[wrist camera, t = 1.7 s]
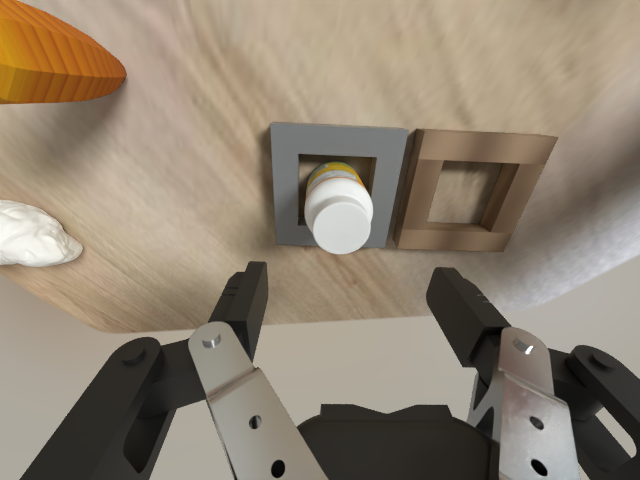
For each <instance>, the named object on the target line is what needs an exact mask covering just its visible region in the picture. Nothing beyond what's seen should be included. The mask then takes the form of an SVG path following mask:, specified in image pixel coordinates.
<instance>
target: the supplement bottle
mask: <svg viewBox="0 0 640 480" xmlns="http://www.w3.org/2000/svg"><path fill="white" fill-rule="evenodd" d="M372 216H373V204H372V201H371V198H370V196H369V194H368V192H367V190H366V188H365V187H364V185H363V183H362V181H361V180H360V178H359V176H358V174H357V173H356V172H355V170H354V169H353V168H352V167H350V166H349V165H347V164H345V163H342V162H337V161H332V162H327V163H324V164H322V165H320V166H319V167H317V168H316V169H315V170H314V171H313V172H312V174H311V176H310V178H309V180H308V184H307V192H306V201H305V220H306V223H307V226H308V228H309V229H310V231H311V232H312V233H313V236H314V239H315V241H316V242H317V244H318V245H319V246H320V247H321V248H322V249H324V250H325V251H327V252H330V253H333V254H348V253H351V252H354V251H356V250H357V249H359V248H360V247H361V246H362V245H363V244H364V243H365V242H366V240H367V239H368V237H369V234H370V229H371V224H370V223H371V220H372Z"/></svg>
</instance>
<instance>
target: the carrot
mask: <svg viewBox="0 0 640 480" xmlns="http://www.w3.org/2000/svg"><path fill="white" fill-rule="evenodd" d="M126 75H127V73H126V70H125V68H124V66H123V65H122V64H121V62H120V61H119V60H118V59H117V58H115V57H114V56H113V55H112V54H111V53H110V52H108V51H107V50H106V49H105V48H103V47H102V46H101V45H100V44H99V43H97V42H96V41H95V40H94V39H92V38H91V37H90V36H88V35H86V34H85V33H83V32H81V31H79V30H78V29H76V28H74V27H73V26H71V25H69V24H67V23H65V22H64V21H62V20H60V19H58V18H56V17H54V16H52V15H50V14H48V13H47V12H44V11H42V10H39V9H37V8H34V7H32V6H29V5H27V4H24V3H22V2H19V1H17V0H0V104H25V103H58V102H74V101H86V100H90V99H94V98H98V97H101V96H105V95H108V94H111V93H112V92H114V91H115V90H116V89H117V88H119V87H120V85H121V84H122V82H123V81H124V79H125V77H126Z"/></svg>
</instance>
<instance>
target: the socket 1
mask: <svg viewBox="0 0 640 480" xmlns="http://www.w3.org/2000/svg"><path fill="white" fill-rule="evenodd" d="M270 131H271V151H272V171H273V191H274V211H275V231H276V244H277V245H307V246H319V245H318V244H317V242H316V241H315V239H314V236H313V233H312V232H311V231H310V229H309V228H308V226H307V223H306V220H305V218H299V154H315V155H338V156H361V157H372V162H371V169H370V176H369V183H368V190H367V192H368V194H369V196H370V198H371V201H372V204H373V216H372V220H371V223H370V224H371V229H370V234H369V237H368V239H367V240H366V242H365V243H364V244H363V245H362V246H361V247H367V248H385V245H386V240H387V235H388V230H389V225H390V220H391V215H392V210H393V205H394V200H395V195H396V190H397V185H398V180H399V175H400V170H401V165H402V160H403V156H404V151H405V146H406V141H407V136H408V131H409V130H407V129H403V128H391V127H371V126H350V125H329V124H308V123H287V122H272V123H270Z"/></svg>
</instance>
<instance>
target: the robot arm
mask: <svg viewBox="0 0 640 480" xmlns="http://www.w3.org/2000/svg"><path fill="white" fill-rule="evenodd" d="M267 300H268V276H267V264H266V262H255V261H250V262H249V263H248V266H247V268H246V270H245V272H236V273H235V274H234V275H233V276H232V277H231V278H230V279H229V280H228V282H227V284H226V286H225V289H224V290H223V292H222V296H221V297H220V299H219V301H218V303H217V305H216V307H215V309H214V311H213V313H212V315H211V317H210V319H209V321H208V323H207V324H205V325H203V326H201V327H199V328H198V329H197V330H195V331H194V333H193V334H192V335H191V337H190V338H188V339H186V340H182V341H179V342H174V343H171V344H166V345H162V346H161V345H160V343H159V342H158V340H157V339H154V338H151V337H142V338H137V339H134V340H132V341H129V342H127V343H126V344H124V345H122V346H121V347H119V348H118V349H117V350H116V351H115V352H114V353H113V354H112V355H111V356H110V357H109V359H108V360H107V361H106V363H105V364H104V366H103V367H102V368H101V370H100V371H99V372H98V374H97V375H96V377H95V378H94V379H93V381H92V382H91V383H90V385H89V386H88V387H87V389H86V390H85V391H84V393H83V394H82V396H81V397H80V398H79V400H78V401H77V402H76V404H75V405H74V406H73V408H72V409H71V410H70V412H69V413H68V414H67V416H66V417H65V419H64V420H63V421H62V423H61V424H60V426H59V427H58V428H57V429H56V431H55V432H54V434H53V435H52V436H51V438H50V439H49V440H48V442H47V443H46V444H45V446H44V447H43V449H42V450H41V451H40V453H39V454H38V455H37V457H36V458H35V459H34V461H33V462H32V463H31V465H30V466H29V468H28V469H27V470H26V472H25V473H24V474H23V476H22V477H21V478H20V480H149V478H150V476H151V473H152V471H153V468H154V465H155V463H156V460H157V458H158V455H159V452H160V450H161V448H162V445H163V443H164V440H165V437H166V435H167V432H168V430H169V427H170V425H171V422H172V419H173V417H174V415H175V412H176V410H177V408H180V407H183V406H186V405H189V404H192V403H195V402H198V401H201V400H205V399H206V402H207V405H208V408H209V410H210V413H211V416H212V419H213V422H214V424H215V427H216V430H217V433H218V435H219V438H220V441H221V443H222V446H223V449H224V452H225V455H226V458H227V461H228V464H229V466H230V469H231V472H232V475H233V478H234V480H581V479H580V473H579V467H578V463H579V464H580V466H581V467H582V469H583V470H584V472H585V473H586V474H587V476H588V477H589V479H590V480H640V379H639V378H637V377H636V376H635V375H634V374H633V373H632V372H631V371H630V370H629V369H628V368H626V367H625V366H624V365H623V364H622V363H621V362H619V361H618V360H617V359H615V358H614V357H612V356H610V355H609V354H607V353H605V352H603V351H601V350H599V349H597V348H594V347H590V346H585V345H579V346H576V347H575V348H574V349H573V350H572V351H571V353H570V354H568V353H564V352H561V351H557V350H553V349H549V348H547V347H546V346H545V344H544V343H543V342H542V341H541V340H540V339H538V338H537V337H536V336H534V335H532V334H531V333H529V332H527V331H525V330H522V329H519V328H515V327H512V326H511V325H510V324H509V323H508V322H507V320H506V319H505V318H504V317H503V316H502V315H501V314H500V312H499V311H498V310H497V309H496V308H495V307H494V306H493V305H492V303H489V300H488V299H487V298H486V297H485V296H483V293H482V292H481V291H480V290H479V289H478V288H477V286H476V285H474V284H473V283H471V282H470V281H468V280H467V279H464V278H463V277H462V276H461V275H460V274H459V272H458V271H457V270H456V269H455V268H447V267H437V268H435V270H434V272H433V275H432V278H431V281H430V284H429V287H428V290H427V293H426V300H427V304H428V306H429V308H430V310H431V311H432V313H433V315H434V317H435V318H436V320H437V322H438V324H439V326H440V327H441V329H442V331H443V333H444V335H445V336H446V338H447V340H448V342H449V343H450V345H451V347H452V349H453V350H454V352H455V354H456V356H457V358H458V360H459V361H460V363H461V365H462V367H475V368H476V369H477V371H478V372H477V374H476V376H475V380H474V386H473V391H472V398H471V403H470V408H469V414H468V418H467V421H466V422H464V421H462V420H460V419H457V418H455V417H452V415H451V413H450V410H449V408H448V406H447V405H414V406H411V407H408V408H405V409H402V410H399V411H396V412H392V413H389V414H385V413H381V412H377V411H374V410H371V409H367V408H364V407H360V406H356V405H353V404H321V410H320V411H321V412H320V415H317V416H314V417H312V418H310V419H308V420H306V421H304V422H303V423H301V424H300V425H298V426H297V427H296V426H295V424H294V423H293V421H292V419H291V418H290V416H289V414H288V413H287V411H286V409H285V408H284V406H283V404H282V403H281V401H280V399H279V398H278V396H277V394H276V393H275V391H274V389H273V388H272V386H271V385H270V383H269V381H268V380H267V378H266V376H265V375H264V373H263V371H262V370H261V369H260V368H258V367H257V368H255V367H254V366H253V364H252V363H253V359H254V354H255V350H256V346H257V342H258V337H259V334H260V329H261V325H262V321H263V317H264V313H265V308H266V304H267ZM603 407H605V408H606V410H608V412H609V413H610V414H611V415H612V416H613V417H614V419H615V420H616V421H617V422H618V423H619V424H620V425H621V426H622V427H623V429H624V430H625V431H626V432H627V433H628V434H629V435H630V436H631V438H632V439H633V441H634V443H635V445H636V450H637V452H636V455H635V456H634V457H633V458H631V457H630V456H629V455H628V453H627V452H626V451H625V450H624V449H623V448H622V446H621V445H620V444H619V443H618V442H617V440H616V439H615V438H614V437H613V436H612V434H611V433H610V432H609V431H608V430H607V429H606V427H605V426H604V425H603V424H602V423H601V422H600V420H599V419H598V418H597V417H596V416H595V414H596V413H597V412H598V411H599V410H601V409H602V408H603Z"/></svg>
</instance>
